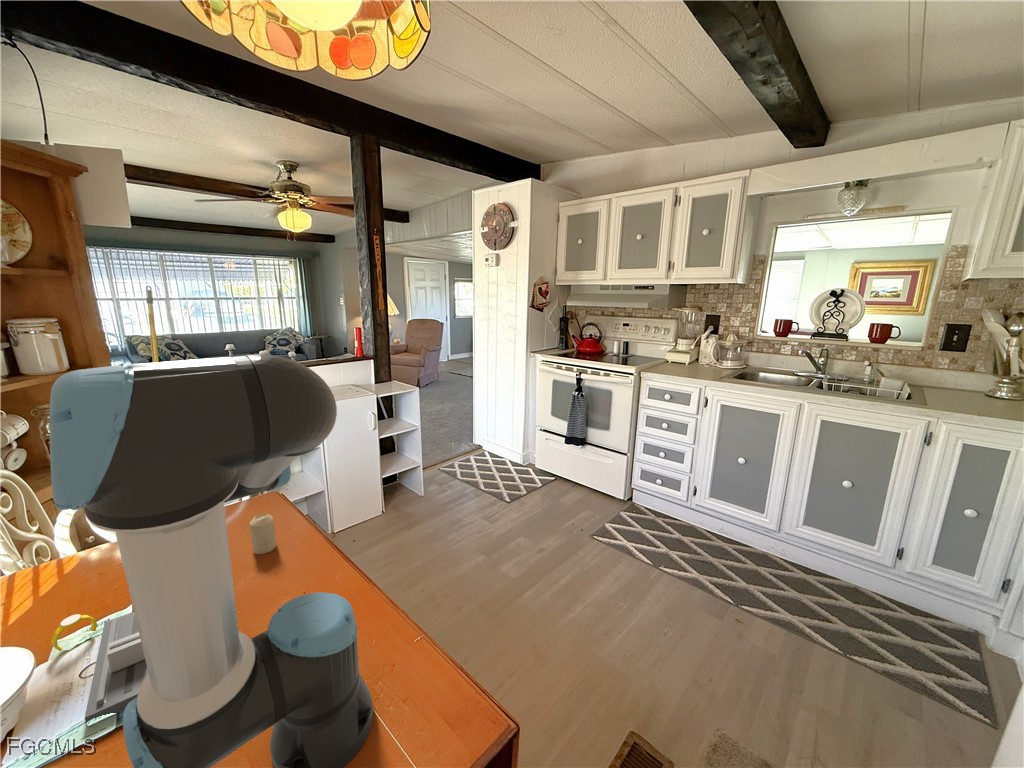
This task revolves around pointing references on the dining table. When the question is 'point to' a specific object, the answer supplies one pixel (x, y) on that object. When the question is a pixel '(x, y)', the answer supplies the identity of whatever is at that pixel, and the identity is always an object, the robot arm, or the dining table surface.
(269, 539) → the candle
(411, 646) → the dining table surface
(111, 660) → the grey cap
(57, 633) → the watch
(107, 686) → the console board
